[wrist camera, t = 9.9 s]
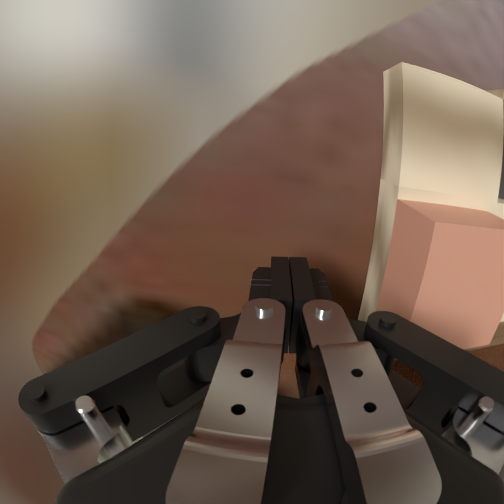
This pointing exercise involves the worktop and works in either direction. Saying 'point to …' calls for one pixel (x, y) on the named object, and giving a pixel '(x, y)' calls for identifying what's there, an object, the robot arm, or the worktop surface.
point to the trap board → (435, 157)
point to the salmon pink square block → (446, 271)
